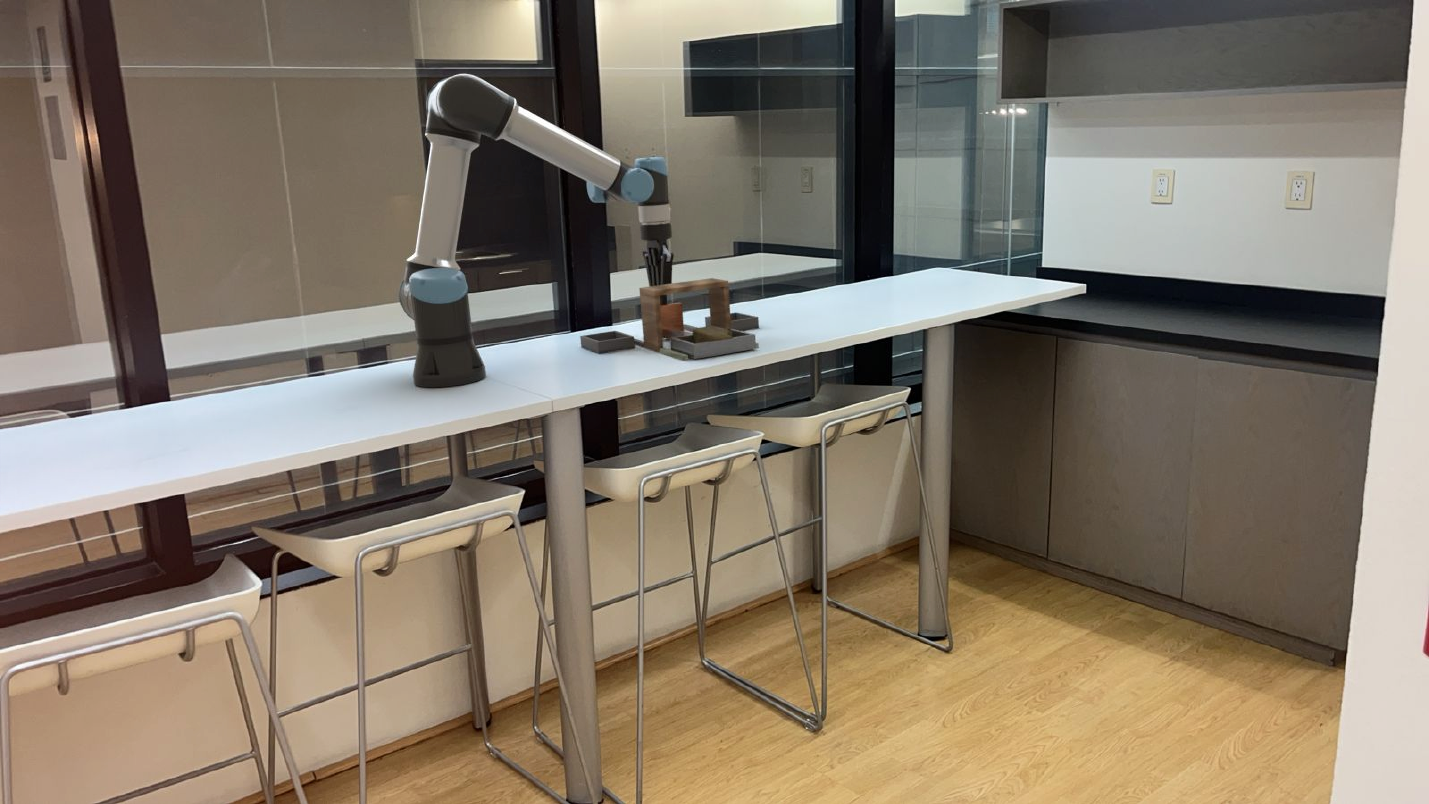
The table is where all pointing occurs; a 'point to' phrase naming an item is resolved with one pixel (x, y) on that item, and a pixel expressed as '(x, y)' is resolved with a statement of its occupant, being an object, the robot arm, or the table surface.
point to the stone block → (710, 334)
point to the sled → (685, 344)
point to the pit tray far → (739, 321)
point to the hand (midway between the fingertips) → (662, 319)
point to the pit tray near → (607, 342)
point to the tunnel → (654, 328)
